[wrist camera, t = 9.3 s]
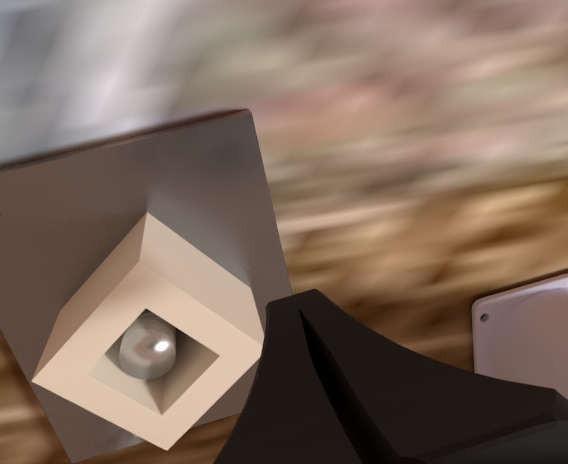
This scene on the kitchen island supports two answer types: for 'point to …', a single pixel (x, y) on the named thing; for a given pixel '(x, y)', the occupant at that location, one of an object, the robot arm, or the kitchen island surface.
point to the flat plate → (112, 230)
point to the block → (169, 306)
